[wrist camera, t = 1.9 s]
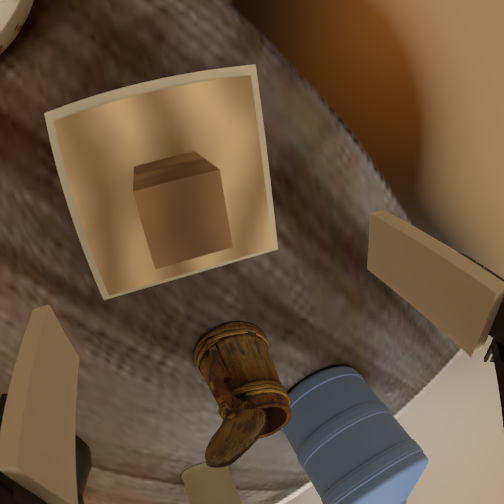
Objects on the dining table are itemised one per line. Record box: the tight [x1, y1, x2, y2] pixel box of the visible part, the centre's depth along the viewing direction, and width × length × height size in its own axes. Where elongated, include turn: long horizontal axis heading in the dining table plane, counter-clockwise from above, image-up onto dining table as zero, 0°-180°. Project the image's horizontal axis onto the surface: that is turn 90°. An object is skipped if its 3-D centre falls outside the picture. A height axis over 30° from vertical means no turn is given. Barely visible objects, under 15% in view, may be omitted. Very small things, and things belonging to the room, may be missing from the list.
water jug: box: [281, 366, 428, 504], centre depth 37 cm, size 16×16×28 cm
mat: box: [44, 64, 278, 300], centre depth 26 cm, size 18×18×1 cm
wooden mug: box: [193, 322, 291, 468], centre depth 28 cm, size 9×14×18 cm, turn 36°
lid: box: [54, 75, 273, 296], centre depth 22 cm, size 16×16×9 cm
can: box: [182, 463, 242, 504], centre depth 44 cm, size 9×9×12 cm
